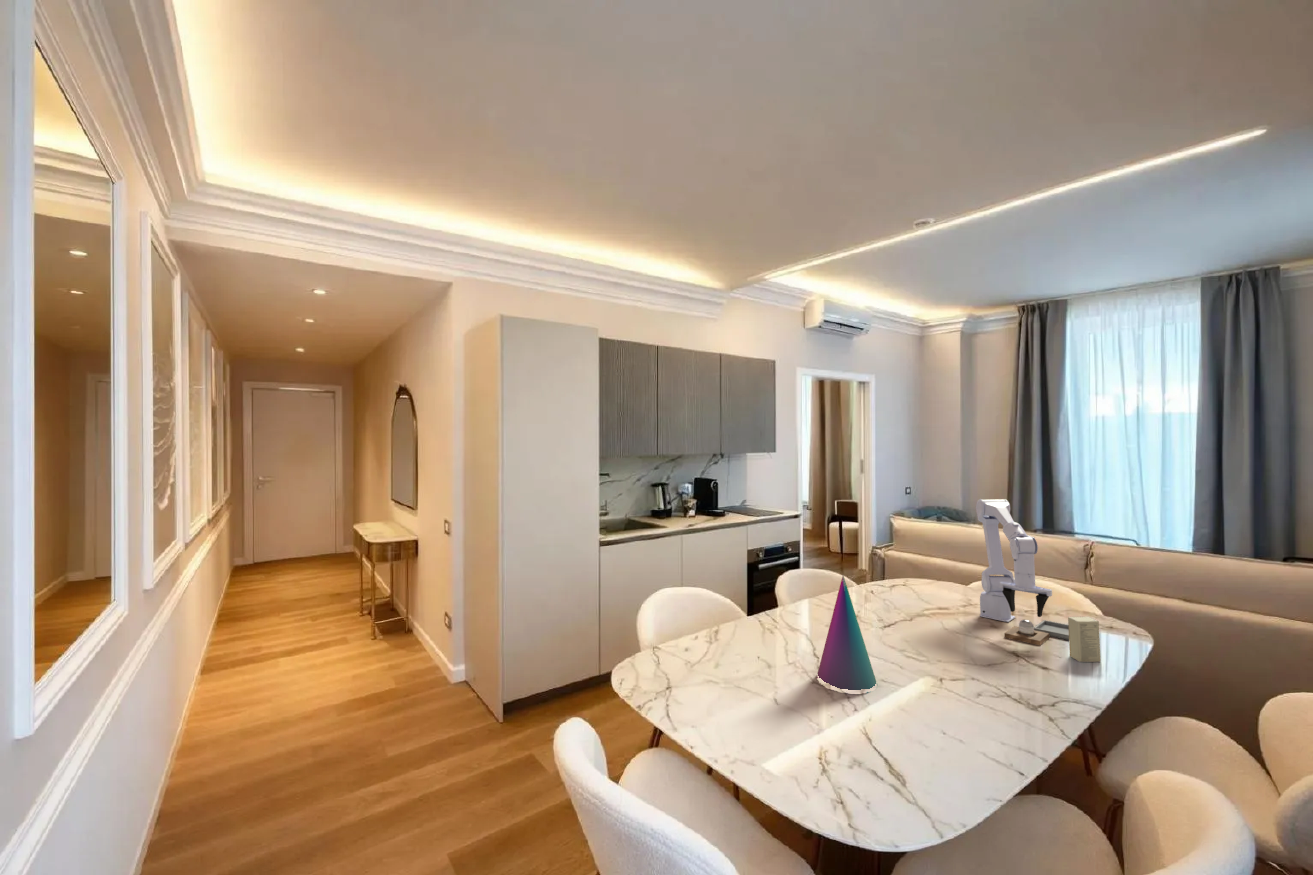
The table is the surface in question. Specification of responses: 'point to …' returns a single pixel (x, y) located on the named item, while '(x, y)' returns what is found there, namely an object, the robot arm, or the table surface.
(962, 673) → the table surface
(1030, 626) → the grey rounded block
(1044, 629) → the tray
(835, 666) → the decorative cone
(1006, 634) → the socket block
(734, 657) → the table surface
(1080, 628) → the skincare box
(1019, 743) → the table surface
